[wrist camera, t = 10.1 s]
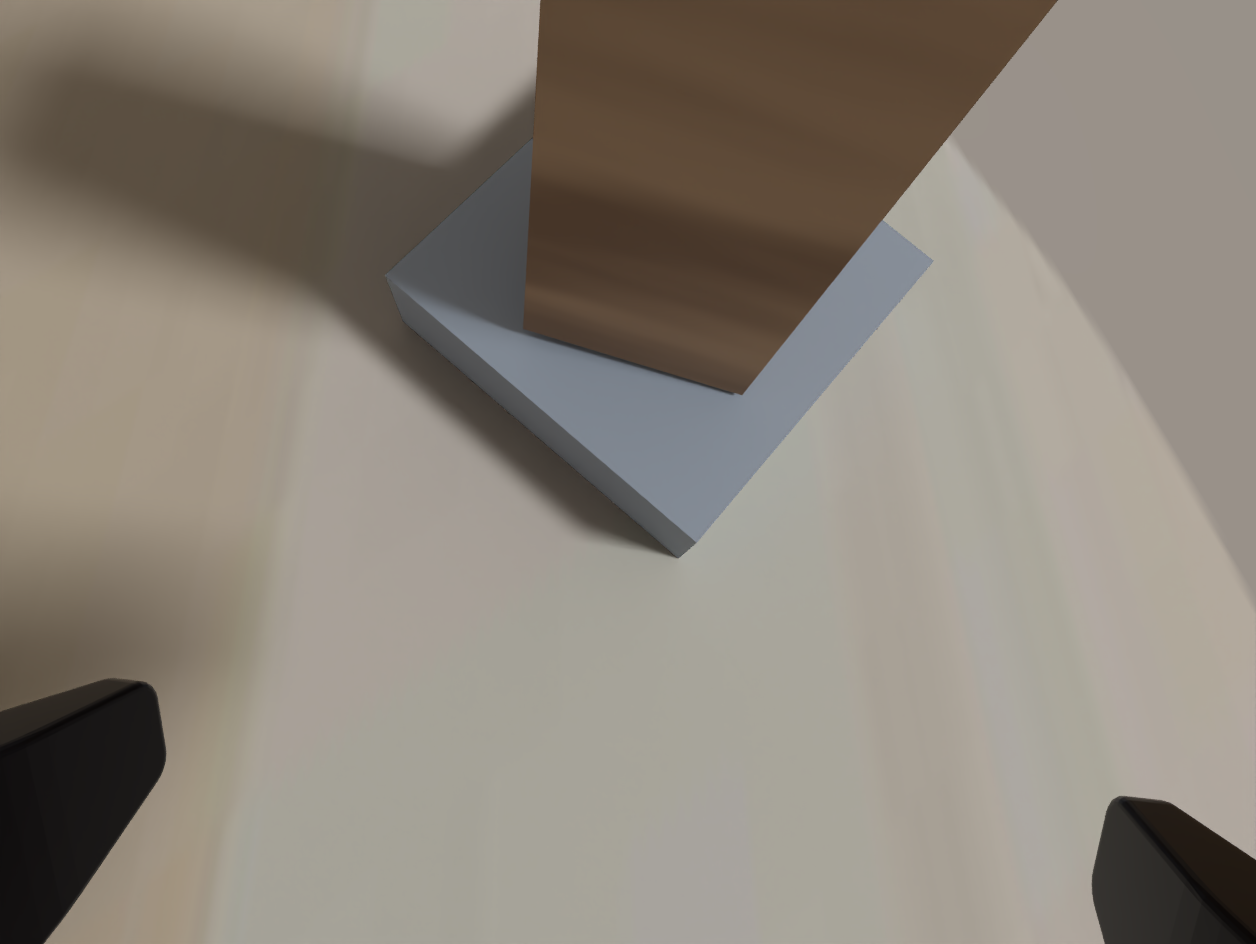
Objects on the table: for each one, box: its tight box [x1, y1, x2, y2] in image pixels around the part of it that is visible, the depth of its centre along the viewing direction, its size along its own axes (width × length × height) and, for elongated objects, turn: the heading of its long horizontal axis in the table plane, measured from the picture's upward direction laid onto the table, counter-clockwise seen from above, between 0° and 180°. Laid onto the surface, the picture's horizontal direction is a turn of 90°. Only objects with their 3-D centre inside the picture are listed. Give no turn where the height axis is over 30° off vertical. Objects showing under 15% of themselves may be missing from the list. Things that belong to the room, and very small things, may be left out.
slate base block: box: [385, 138, 933, 558], centre depth 21 cm, size 9×9×3 cm
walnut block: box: [523, 0, 1058, 395], centre depth 13 cm, size 5×5×12 cm
